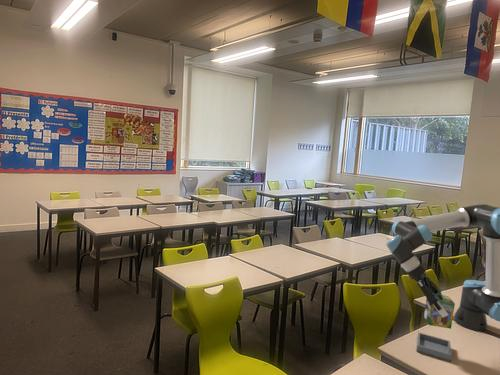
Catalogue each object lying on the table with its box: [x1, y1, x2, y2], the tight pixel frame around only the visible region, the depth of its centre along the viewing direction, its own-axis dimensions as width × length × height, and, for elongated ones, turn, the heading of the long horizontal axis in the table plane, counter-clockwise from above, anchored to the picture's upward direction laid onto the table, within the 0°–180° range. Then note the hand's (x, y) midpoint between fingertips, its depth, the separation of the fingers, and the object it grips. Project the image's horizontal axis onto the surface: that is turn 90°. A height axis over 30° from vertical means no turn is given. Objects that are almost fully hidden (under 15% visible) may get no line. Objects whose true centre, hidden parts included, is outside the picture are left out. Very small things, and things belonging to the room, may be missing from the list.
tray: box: [416, 332, 453, 363], centre depth 164 cm, size 13×13×3 cm
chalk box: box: [423, 288, 456, 330], centre depth 161 cm, size 9×9×15 cm
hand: (446, 311), depth 160 cm, fingers closed on chalk box, 11 cm apart
